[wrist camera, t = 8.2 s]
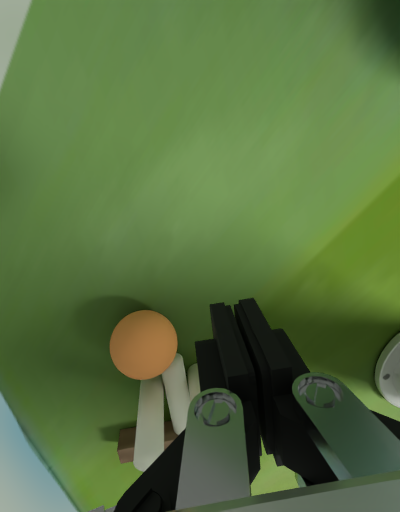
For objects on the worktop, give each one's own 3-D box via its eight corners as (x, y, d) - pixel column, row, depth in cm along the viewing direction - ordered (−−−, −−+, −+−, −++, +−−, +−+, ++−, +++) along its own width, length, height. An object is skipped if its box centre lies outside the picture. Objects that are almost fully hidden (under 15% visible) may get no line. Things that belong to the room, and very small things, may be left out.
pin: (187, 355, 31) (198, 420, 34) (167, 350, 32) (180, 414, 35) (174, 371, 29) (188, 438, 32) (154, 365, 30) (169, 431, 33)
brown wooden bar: (120, 429, 34) (117, 450, 32) (241, 408, 35) (246, 426, 33) (123, 442, 35) (120, 463, 32) (242, 421, 36) (247, 440, 33)
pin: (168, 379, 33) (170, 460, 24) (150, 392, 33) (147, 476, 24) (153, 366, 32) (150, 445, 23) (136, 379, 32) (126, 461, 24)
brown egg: (185, 384, 25) (192, 312, 27) (113, 378, 22) (127, 299, 25) (157, 380, 30) (165, 319, 32) (96, 375, 27) (109, 309, 29)
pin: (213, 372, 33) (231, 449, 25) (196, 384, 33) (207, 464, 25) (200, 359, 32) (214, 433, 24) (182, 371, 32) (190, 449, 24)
